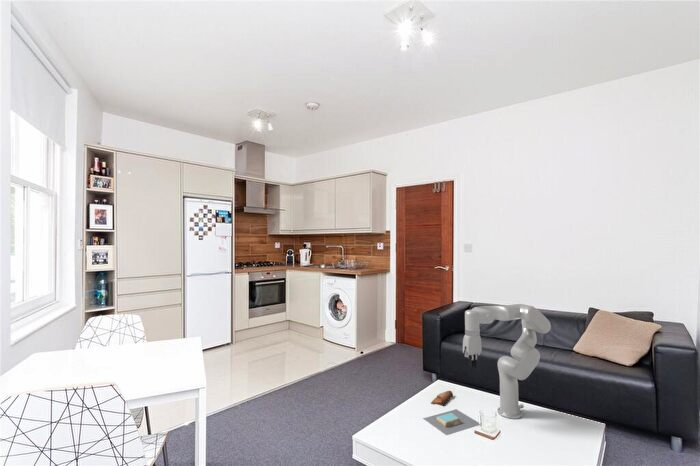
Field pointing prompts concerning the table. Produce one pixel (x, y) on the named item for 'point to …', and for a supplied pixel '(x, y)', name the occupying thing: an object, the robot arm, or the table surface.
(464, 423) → the rubber mat
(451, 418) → the maple tile
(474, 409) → the table surface
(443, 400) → the sunglasses case
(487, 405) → the table surface
